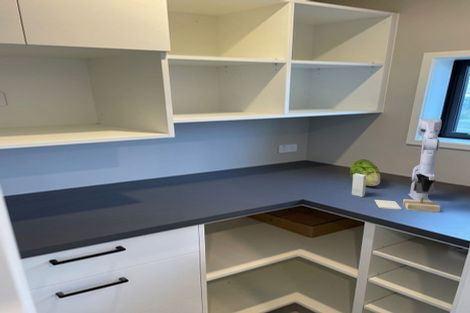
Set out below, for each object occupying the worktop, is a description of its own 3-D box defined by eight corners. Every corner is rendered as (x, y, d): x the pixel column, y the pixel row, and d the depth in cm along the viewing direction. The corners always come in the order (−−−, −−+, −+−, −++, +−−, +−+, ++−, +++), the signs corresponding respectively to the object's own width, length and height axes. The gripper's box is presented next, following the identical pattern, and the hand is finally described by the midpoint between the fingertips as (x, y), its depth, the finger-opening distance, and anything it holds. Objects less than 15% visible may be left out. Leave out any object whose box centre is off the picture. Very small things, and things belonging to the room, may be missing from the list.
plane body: (402, 204, 148) (404, 194, 147) (432, 206, 145) (434, 196, 144) (407, 209, 141) (409, 199, 140) (439, 212, 138) (441, 201, 137)
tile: (374, 200, 153) (374, 199, 153) (394, 202, 151) (394, 201, 151) (379, 207, 144) (379, 206, 143) (401, 209, 141) (401, 208, 141)
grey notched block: (413, 190, 144) (414, 180, 143) (428, 191, 143) (430, 181, 141) (416, 193, 140) (418, 183, 139) (432, 194, 139) (434, 184, 138)
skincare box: (365, 195, 161) (367, 174, 158) (362, 197, 158) (364, 176, 155) (354, 193, 165) (356, 172, 162) (350, 194, 162) (353, 174, 159)
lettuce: (358, 193, 172) (369, 172, 164) (341, 173, 189) (351, 154, 182) (380, 195, 176) (392, 175, 169) (362, 175, 193) (372, 156, 186)
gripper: (412, 159, 146) (409, 184, 149) (424, 166, 132) (420, 194, 135) (428, 160, 144) (424, 185, 147) (441, 167, 131) (437, 195, 134)
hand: (423, 189), depth 141 cm, fingers closed on grey notched block, 4 cm apart
